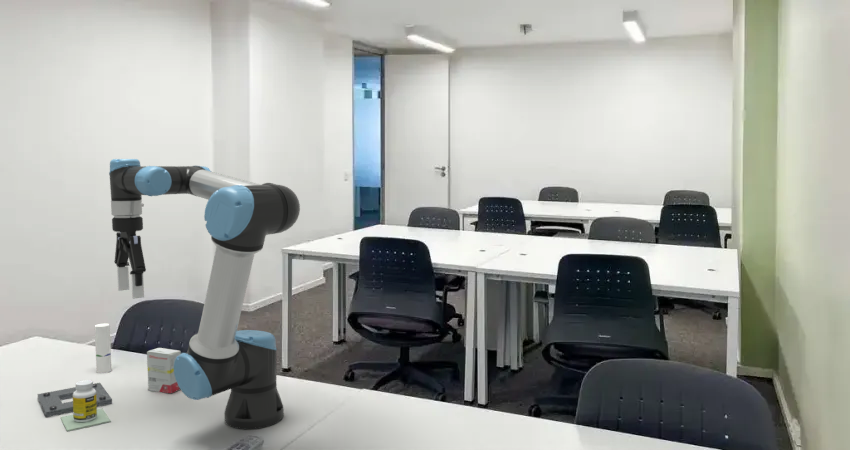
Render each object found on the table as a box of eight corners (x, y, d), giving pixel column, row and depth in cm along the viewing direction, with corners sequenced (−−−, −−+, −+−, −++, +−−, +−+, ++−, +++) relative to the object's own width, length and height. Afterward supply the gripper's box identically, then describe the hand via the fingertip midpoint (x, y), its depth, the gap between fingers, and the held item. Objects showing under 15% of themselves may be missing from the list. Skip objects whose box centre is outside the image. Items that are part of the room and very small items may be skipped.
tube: (96, 369, 206) (94, 324, 204) (111, 368, 208) (109, 322, 206) (96, 373, 202) (94, 327, 200) (111, 372, 204) (109, 326, 202)
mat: (110, 422, 166) (110, 420, 166) (67, 431, 160) (67, 430, 160) (102, 409, 174) (102, 408, 174) (60, 418, 168) (60, 417, 168)
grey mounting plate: (112, 403, 178) (111, 397, 178) (45, 417, 168) (45, 410, 168) (100, 387, 191) (99, 381, 190) (37, 398, 181) (37, 392, 181)
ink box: (182, 388, 190) (181, 349, 189) (171, 394, 186) (169, 354, 184) (159, 384, 193) (158, 346, 192) (147, 390, 189) (146, 351, 187)
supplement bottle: (87, 423, 164) (85, 386, 163) (68, 421, 165) (67, 385, 164) (101, 415, 169) (100, 379, 168) (83, 413, 170) (82, 377, 169)
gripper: (156, 218, 166) (159, 299, 168) (128, 212, 185) (132, 285, 187) (125, 220, 161) (129, 303, 163) (100, 214, 180) (104, 288, 182)
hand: (130, 293), depth 175 cm, fingers open, 13 cm apart
